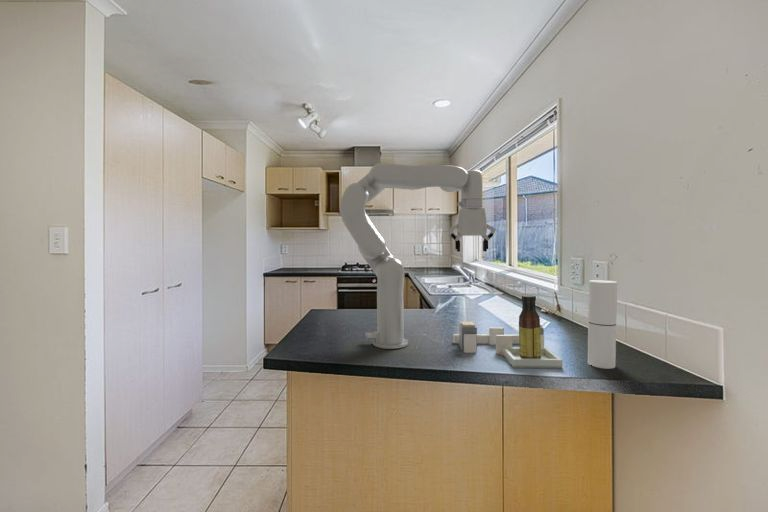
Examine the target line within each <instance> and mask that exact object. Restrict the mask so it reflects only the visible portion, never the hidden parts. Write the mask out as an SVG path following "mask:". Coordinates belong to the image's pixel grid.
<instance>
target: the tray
mask: <svg viewBox="0 0 768 512" xmlns="http://www.w3.org/2000/svg"><path fill="white" fill-rule="evenodd" d="M502 357H503V358H506V359H507V360H506V359H505V360H506V361H507V362H508V363H509V365H510V364H511V365H512V366H511V365H510V366H511V367H512V369H557V370H558V369H561V370H562V369H563V358H561V357H559V356H558V355H557V354H556V353H554V352H552V351H551V350H550V349H549V348H547V347H544V348H541V359H521V358H520V351H519V347H512V348H507V347H503V356H502Z"/></svg>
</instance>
